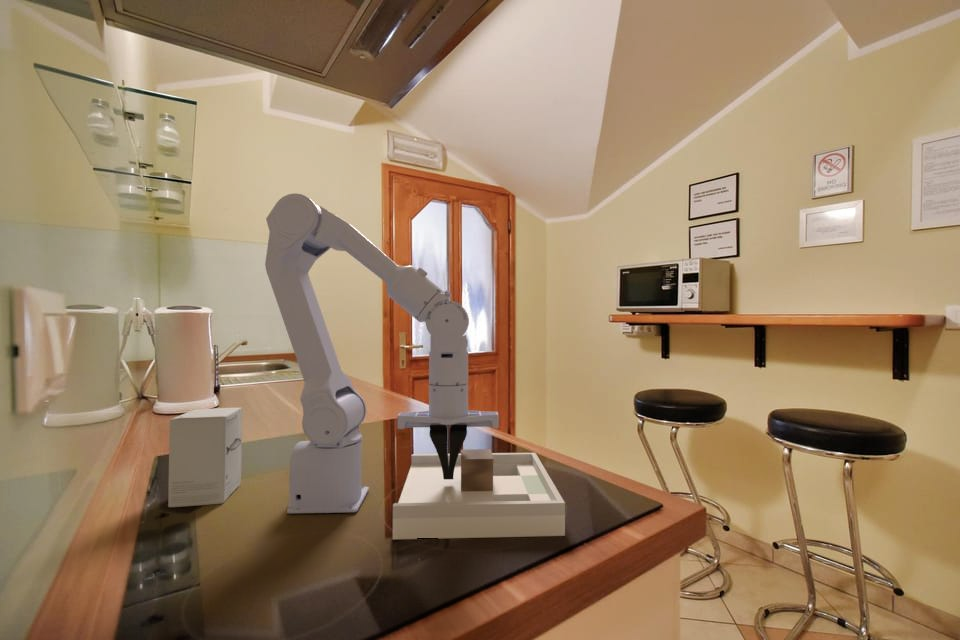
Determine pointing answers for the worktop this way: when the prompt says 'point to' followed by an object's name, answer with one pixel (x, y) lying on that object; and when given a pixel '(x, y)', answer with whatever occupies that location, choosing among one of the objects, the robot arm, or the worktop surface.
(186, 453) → the supplement box
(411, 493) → the box
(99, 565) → the worktop surface
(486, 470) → the walnut block
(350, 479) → the robot arm
